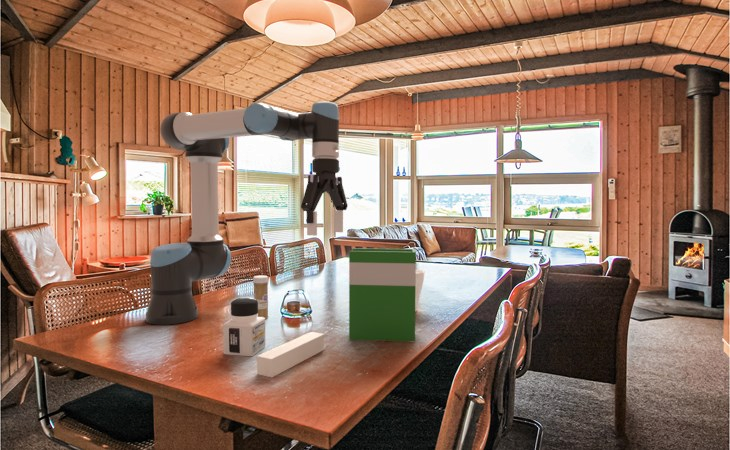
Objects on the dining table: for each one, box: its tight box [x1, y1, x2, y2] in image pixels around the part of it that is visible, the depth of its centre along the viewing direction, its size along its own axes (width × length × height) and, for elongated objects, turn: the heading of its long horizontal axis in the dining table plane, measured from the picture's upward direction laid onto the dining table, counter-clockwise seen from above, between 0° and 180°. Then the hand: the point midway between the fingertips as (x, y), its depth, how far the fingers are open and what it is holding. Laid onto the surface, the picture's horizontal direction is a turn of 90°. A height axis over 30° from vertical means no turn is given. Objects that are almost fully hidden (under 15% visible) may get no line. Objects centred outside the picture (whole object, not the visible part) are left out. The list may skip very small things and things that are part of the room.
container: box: [222, 297, 266, 357], centre depth 111 cm, size 8×8×13 cm
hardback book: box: [348, 247, 417, 342], centre depth 123 cm, size 18×7×24 cm, turn 84°
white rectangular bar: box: [256, 331, 325, 378], centre depth 104 cm, size 4×20×4 cm, turn 152°
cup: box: [415, 269, 425, 313], centre depth 152 cm, size 10×10×14 cm
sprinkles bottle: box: [252, 275, 269, 320], centre depth 141 cm, size 5×5×14 cm
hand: (325, 233), depth 127 cm, fingers open, 13 cm apart
